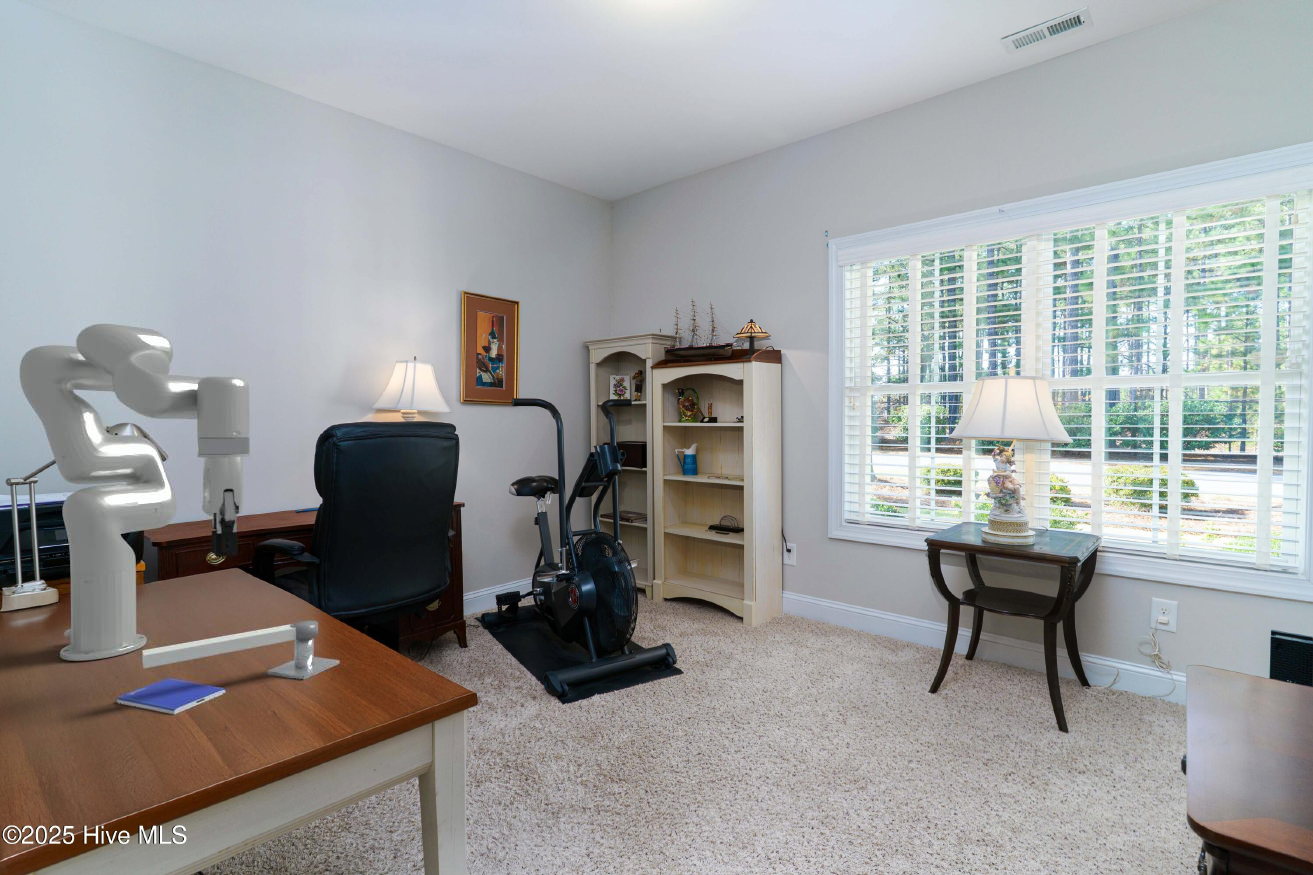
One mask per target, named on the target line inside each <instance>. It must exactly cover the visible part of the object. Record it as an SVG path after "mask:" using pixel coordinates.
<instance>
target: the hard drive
mask: <svg viewBox="0 0 1313 875" xmlns="http://www.w3.org/2000/svg"><path fill="white" fill-rule="evenodd" d="M223 693H225V694H226V688H223V687H219V686H213V685H208V684H203V683H202V684H201V683H197V682H193V681H192V682H191V681H186V680H182V679H181V680H180V679H175V678H165V679H163V680H160V681H157V682H154V683H152V684H149V685H146V686H143V687H141V688H138V689H136V690H132V691H129V692H126V693H125V694H121V695H119V696H118V697H117V700H116V702H117V703H118V704H120V703H121V704H122V705H127V706H131V707H135V706H136V707H135V708H141V709H145V710H151V711H157V712H161V713H166V714H170V715H176V714H178V713H181V712H183V711H187V710H188V709H191V708H193V707H195V706H197V705H200V704H203V703H205V702H208V701H210V700H212V699H215V698H218V697H220V696H221V695H224V694H223ZM214 697H215V698H214ZM121 704H120V705H121Z"/></svg>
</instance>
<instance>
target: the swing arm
mask: <svg viewBox="0 0 1313 875" xmlns="http://www.w3.org/2000/svg"><path fill="white" fill-rule="evenodd" d="M318 635H319V622H318V621H316V620H302V621H296V622H294V623H290V624H286V625H278V626H273V627H269V628H263V629H257V630H250V631H245V632H241V633H235V634H228V635H222V636H217V637H211V638H205V639H201V640H194V641H188V642H183V643H177V644H171V645H170V644H169V645H166V646H160V647H154V648H149V649H143V650H142V656H141V657H142V658H141V659H142V661H141V662H142V667H143V669H148V668H154V667H160V666H163V665H169V664H174V663H180V662H184V661H189V660H196V659H201V658H205V657H211V656H216V655H222V654H228V653H231V652H237V651H243V650H247V649H253V648H254V649H255V648H259V647H263V646H269V645H275V644H279V643H284V642H285V643H286V642H289V641H290V642H291V641H294V640H299V639H307V638H312V637H316V636H318Z"/></svg>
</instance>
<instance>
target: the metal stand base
mask: <svg viewBox="0 0 1313 875" xmlns="http://www.w3.org/2000/svg"><path fill="white" fill-rule="evenodd" d="M314 637H315V636H314ZM314 637H312V638H307V639H299V640H293V641H294V655H293V656H294V659H293V660H290V661H288V662H285V663H283V664H281V665H279V666H276V667H273V668H271V669H268V670H267V671H266V675H269V676H274V675H275V677H281V678H289V679H294V678H296V680H301V679H303V680H302V681H305V680H307V679H309V678H311V677H313V676H316V675H317V674H320V673H322V672H324V671H326V670H328V669H331V668H333V667H335V666H337V665H339V664H340V659H334V658H326V657H319V656H314V655H315V654H314V652H315V651H314V650H315V649H314V648H315V647H314V646H315V645H314V642H315V641H314Z"/></svg>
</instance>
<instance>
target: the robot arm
mask: <svg viewBox="0 0 1313 875" xmlns="http://www.w3.org/2000/svg"><path fill="white" fill-rule="evenodd" d="M75 344H76V346H72V345H55V344H53V345H52V344H51V345H42V346H37V347H33V348H31V349H30V350H27V352H25V353H24V354H23V356H22V358H21V360H20V365H19V383H20V385H21V387H20V388H22V391H23V394H24V396H25V398H26V400H27V402H28V403H29V406H31V408H32V410H33V411H34V412H35V414H36V415H37V417H38V419H39V420H40V421H41V423H42V426H43V428H44V431H45V433H46V434H45V435H46V438H47V440H48V443H49V446H50V449H51V452H52V454H53V458H54V460H55V464H56V466H57V469H58V471H59V473H60V476H62V478H63V479H64V480H65V481H66V482H67V483H71V484H73V485H74V484H76V485H95V486H88V487H84V488H80V489H79V490H76V491H74V492H72V493H71V494H70V495H69V496H67V497H66V499H65V500H64V502H63V504H62V518H63V522H64V526H65V530H66V534H67V539H68V544H69V546H68V547H69V561H70V569H69V570H70V572H69V573H70V620H71V621H70V623H71V624H70V628H69V629H66V630H65V631H64V633H63V635H64V637H66V638H69V639H70V640H69V641H70V644H68V645H66V646H64V647H63V648H62V649H61V650H60V651H59V652H60V653H59V657H60V658H61V659H62V660H65V661H72V662H73V661H74V662H81V661H94V660H101V659H107V658H111V657H116V656H121V655H124V654H127V653H131V652H134V651H136V650H138V649H140V648H142V647H144V646H145V645H146V644H147V636H145V635H144V634H141V633H137V571H136V570H137V566H136V564H137V563H136V554H135V552H134V550H133V548H132V547H131V546H130V545H129V544H128V542H127V541H126V540H125V539H124V538H123V537H122V535H121V534H127V533H133V532H140V531H147V530H154V529H159V528H162V527H165V526H167V525H169V524H170V523H171V522H172V521H173V520H174V518H175V517H176V514H177V500H176V497H175V493H174V489H173V487H172V486H173V485H172V484H171V482H170V479H169V478H170V477H169V476H168V473H167V470H166V467H165V465H164V462H163V459H162V457H161V456H162V455H161V454H160V452H159V450H158V447H157V446H156V445H155V444H154V443H153V442H152V441H151V440H149V439H147V438H146V437H143V436H139V435H126V434H125V435H115V434H114V435H112V434H110V433H108V432H107V430H106V429H105V427H104V424H103V421H102V420H103V419H102V417H101V416H100V413H99V412H98V411H97V410H96V409H95V407H94V406H92V405H91V403H89V402H88V401H87V400H85V399H84V398H83V397H81V396H80V395H78V394H77V393H75V391H74V390H77V391H96V392H112V393H113V392H114V394H115V397H116V398H117V399H118V401H119V402H120V403H121V404H123V405H124V406H125V407H127V408H129V409H130V410H132V411H134V412H136V413H137V414H138V415H139V414H140V415H141V416H144V417H145V418H146V417H147V418H150V419H158V420H159V419H161V420H164V419H165V420H167V419H168V420H169V419H170V420H172V419H173V420H174V419H175V420H184V419H185V420H196V426H197V428H196V429H197V430H196V431H197V432H196V433H197V435H196V437H197V439H196V440H197V444H196V445H197V458H200V459H201V458H202V459H203V458H204V460H203V470H202V471H203V472H202V500H201V501H202V502H201V509H202V512H204V513H205V515H207V516H209V517H212V530H211V553H212V554H214V557H216V558H223V557H231V556H237V555H238V554H239V553H238V549H239V548H238V545H239V544H238V530H237V529H238V528H237V526H238V525H237V515H239V514H241V513H242V512H243V507H244V506H243V504H244V475H243V473H244V472H243V458H246V457H247V458H249V457H250V453H251V452H250V451H251V450H250V445H251V444H250V439H251V438H250V386H249V383H248V382H247V381H246V380H245V379H244V378H240V377H234V376H233V377H231V376H205V377H200V376H189V375H175V374H169V373H170V369H171V363H172V360H173V357H174V348H173V345H172V343H171V340H169V339H168V337H167V336H166V335H165V334H163V333H162V332H160V331H158V330H155V329H151V328H146V327H145V328H143V327H136V326H130V325H129V326H128V325H121V324H116V323H115V324H114V323H96V324H92V325H89V326H87V327H85V328H83V329H82V330H81V331H80V332H79V333H78V334H77V337H76V341H75ZM114 483H119V484H114ZM123 483H124V484H123ZM125 483H126V484H125ZM99 484H100V485H99ZM101 484H106V485H101ZM107 484H108V485H107Z"/></svg>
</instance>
